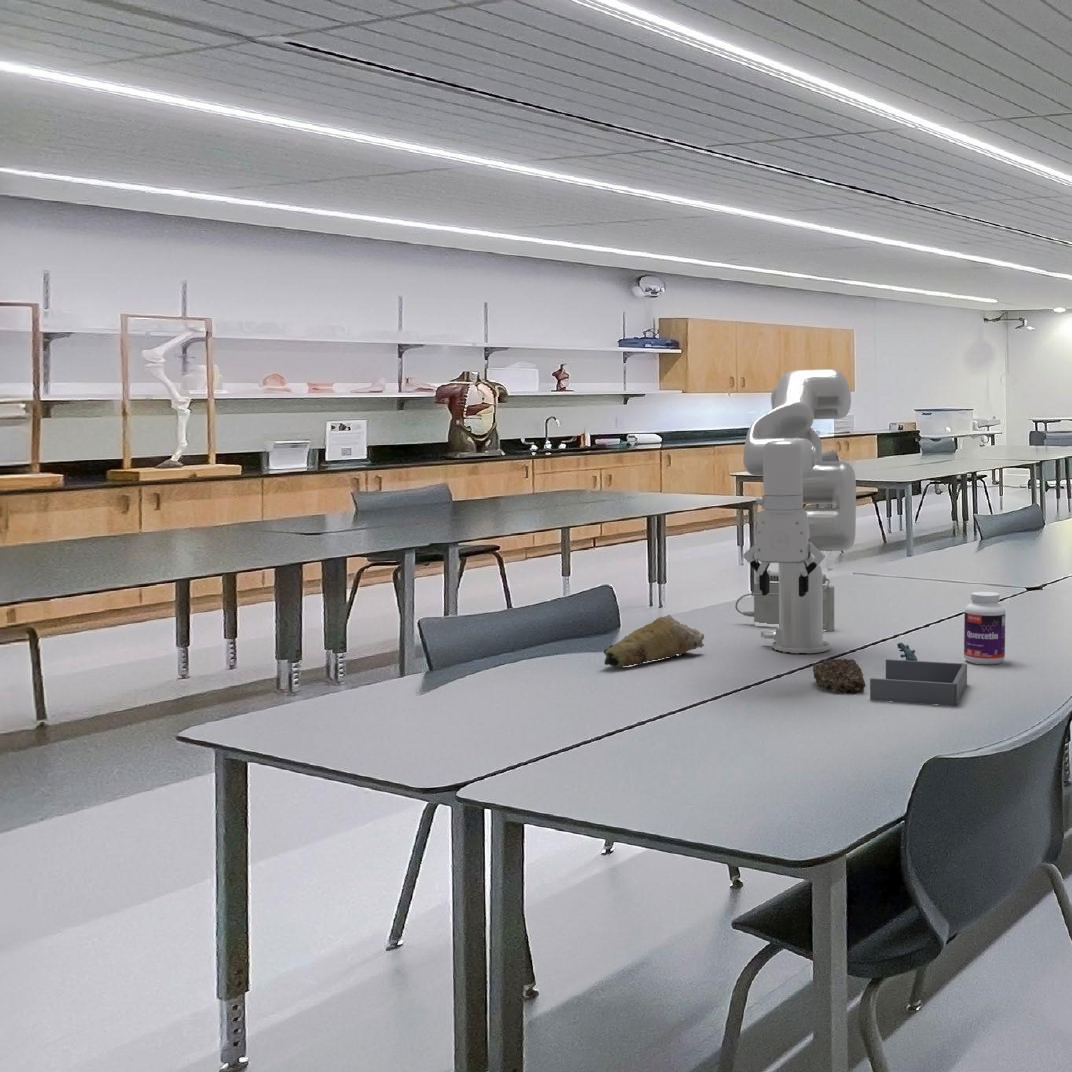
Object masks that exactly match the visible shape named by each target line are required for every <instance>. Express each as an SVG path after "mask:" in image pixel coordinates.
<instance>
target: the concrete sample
mask: <svg viewBox="0 0 1072 1072" xmlns="http://www.w3.org/2000/svg"><path fill="white" fill-rule="evenodd" d="M812 669H813V670H812V672H813V679H815V683H816V684H817V686H818V687H820V688H822V689H823V690H826V691H832V692H833V693H836V694H848V695H849V694H850V695H854V694H855V695H856V694H857V693H860V692H861V693H863V692H864V691H865V687H866V686H867V684H866V683H865V682H866V681H865V679H864V674H863V672H862V668H861V667H860V666H859V664H858V663H857V662H856V661H855V660H854V659H853V658H849V659H847V658H843V659H842V658H839V659H838V658H834V659H833V658H829V659H825V660H823V661H822V662H821V663H815V664H813V665H812Z"/></svg>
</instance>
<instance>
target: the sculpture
mask: <svg viewBox="0 0 1072 1072" xmlns="http://www.w3.org/2000/svg"><path fill="white" fill-rule="evenodd" d="M896 645H897V649H899V650H898V651H900V652H903V654H902V653H901V654H900V658H901V659H904V658H905V660H910V661H919V660H918V658H917V656H916V655H915V653H916V650H915V649H910V646H909V645H908V644H904V643H903V642H898V643H897V644H896Z"/></svg>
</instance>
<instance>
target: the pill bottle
mask: <svg viewBox="0 0 1072 1072" xmlns="http://www.w3.org/2000/svg"><path fill="white" fill-rule="evenodd" d="M970 595H971V596H970V599H971V603H968V604H967V605H966V606H965V607H964V622H963V623H964V625H963V626H964V628H963V631H964V633H963V636H964V637H963V658H964V659H965V661H967V662H969V663H970V664H975V665H986V666H987V665H988V666H989V665H991V666H992V665H998V664H1001V663H1002V662H1004V661H1005V655H1006V608H1005V607H1004V605H1002V604H1001V603H999V602H1000V593H998V592H996V591H995V592H993V591H975V592H974V591H973V592H971V594H970Z"/></svg>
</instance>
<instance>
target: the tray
mask: <svg viewBox="0 0 1072 1072" xmlns="http://www.w3.org/2000/svg"><path fill="white" fill-rule="evenodd" d="M869 686H870V687H869V700H870V701H874V702H875V701H876V702H877V701H878V702H889V701H893V702H892V703H903V702H905V703H906V704H920V705H921V704H922V705H932V704H938V705H937V706H946V705H947V706H946V707H949V706H950V707H955V706H956V707H957V705H958V704H959V702H960V700H961V698H962V697H963V693H964V692H965V689H966V687H967V686H968V663H964V662H963V663H959V662H945V661H944V662H941V661H926V660H918V661H910V660H906V659H890V658H888V659H885V678H877V677H876V678H875V677H870V678H869Z"/></svg>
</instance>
